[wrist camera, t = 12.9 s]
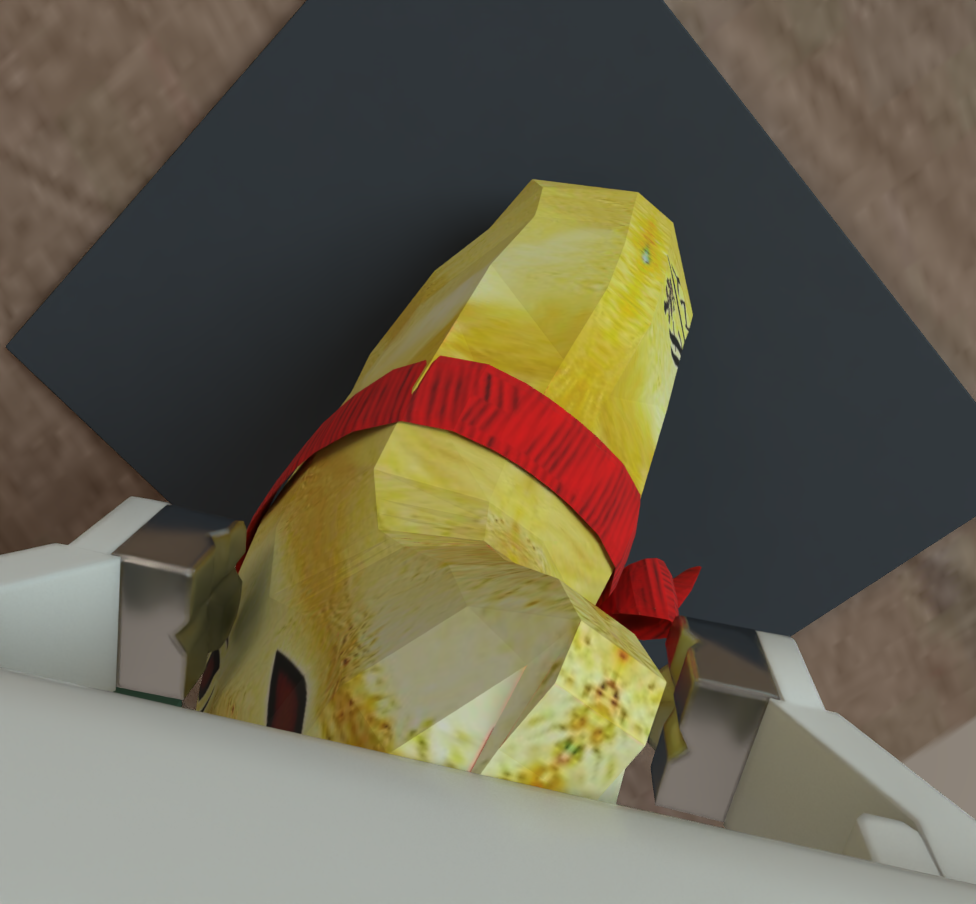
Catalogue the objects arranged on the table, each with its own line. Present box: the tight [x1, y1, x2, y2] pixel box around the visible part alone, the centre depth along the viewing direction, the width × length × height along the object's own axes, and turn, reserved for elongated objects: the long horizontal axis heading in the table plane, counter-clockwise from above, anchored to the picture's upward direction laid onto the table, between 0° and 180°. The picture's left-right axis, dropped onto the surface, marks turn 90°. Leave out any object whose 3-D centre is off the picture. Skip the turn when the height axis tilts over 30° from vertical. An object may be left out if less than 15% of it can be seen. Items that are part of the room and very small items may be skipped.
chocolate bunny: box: [196, 179, 702, 804], centre depth 13 cm, size 7×11×15 cm, turn 141°
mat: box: [6, 0, 976, 670], centre depth 20 cm, size 18×16×1 cm
